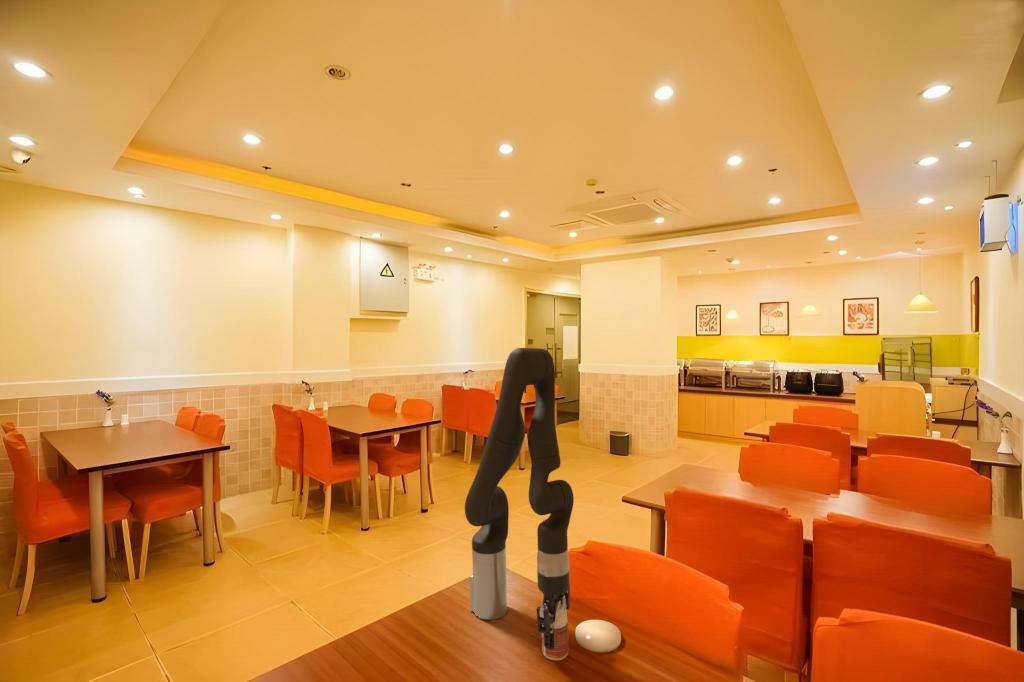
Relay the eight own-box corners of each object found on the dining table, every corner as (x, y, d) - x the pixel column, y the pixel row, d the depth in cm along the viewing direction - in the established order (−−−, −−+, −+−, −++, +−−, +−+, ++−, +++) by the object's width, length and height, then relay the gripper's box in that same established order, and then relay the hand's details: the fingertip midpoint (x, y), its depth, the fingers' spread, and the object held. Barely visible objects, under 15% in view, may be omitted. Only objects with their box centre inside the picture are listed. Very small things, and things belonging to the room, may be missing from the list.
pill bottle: (574, 655, 107) (572, 606, 108) (553, 665, 104) (552, 615, 104) (557, 641, 113) (556, 595, 113) (536, 650, 109) (535, 603, 109)
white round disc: (568, 643, 111) (568, 638, 111) (584, 620, 121) (584, 615, 121) (613, 657, 106) (613, 652, 106) (626, 631, 116) (626, 626, 116)
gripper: (551, 552, 117) (553, 619, 116) (524, 577, 104) (526, 652, 104) (579, 558, 113) (581, 627, 113) (555, 584, 101) (557, 663, 100)
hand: (555, 639), depth 108 cm, fingers closed on pill bottle, 6 cm apart
